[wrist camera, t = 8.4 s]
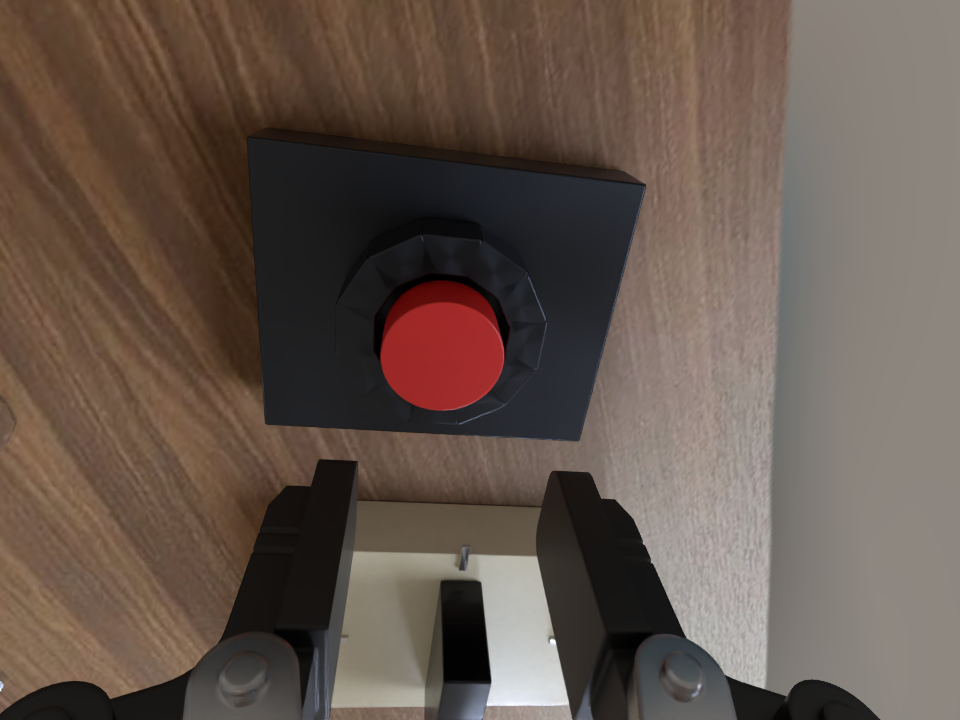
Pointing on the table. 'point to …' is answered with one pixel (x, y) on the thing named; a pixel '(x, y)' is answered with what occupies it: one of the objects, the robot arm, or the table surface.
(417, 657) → the beige base plate
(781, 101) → the table surface
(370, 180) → the button box
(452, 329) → the button
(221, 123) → the table surface
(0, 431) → the milkshake
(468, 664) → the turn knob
